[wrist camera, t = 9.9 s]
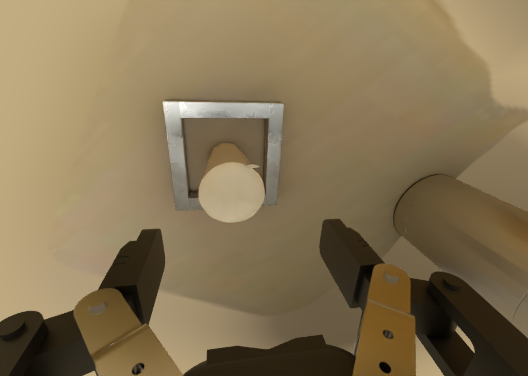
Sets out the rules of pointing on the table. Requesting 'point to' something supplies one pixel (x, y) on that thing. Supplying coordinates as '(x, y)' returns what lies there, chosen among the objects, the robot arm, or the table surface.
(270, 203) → the grey square frame
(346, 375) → the robot arm
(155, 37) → the table surface
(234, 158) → the milkshake
